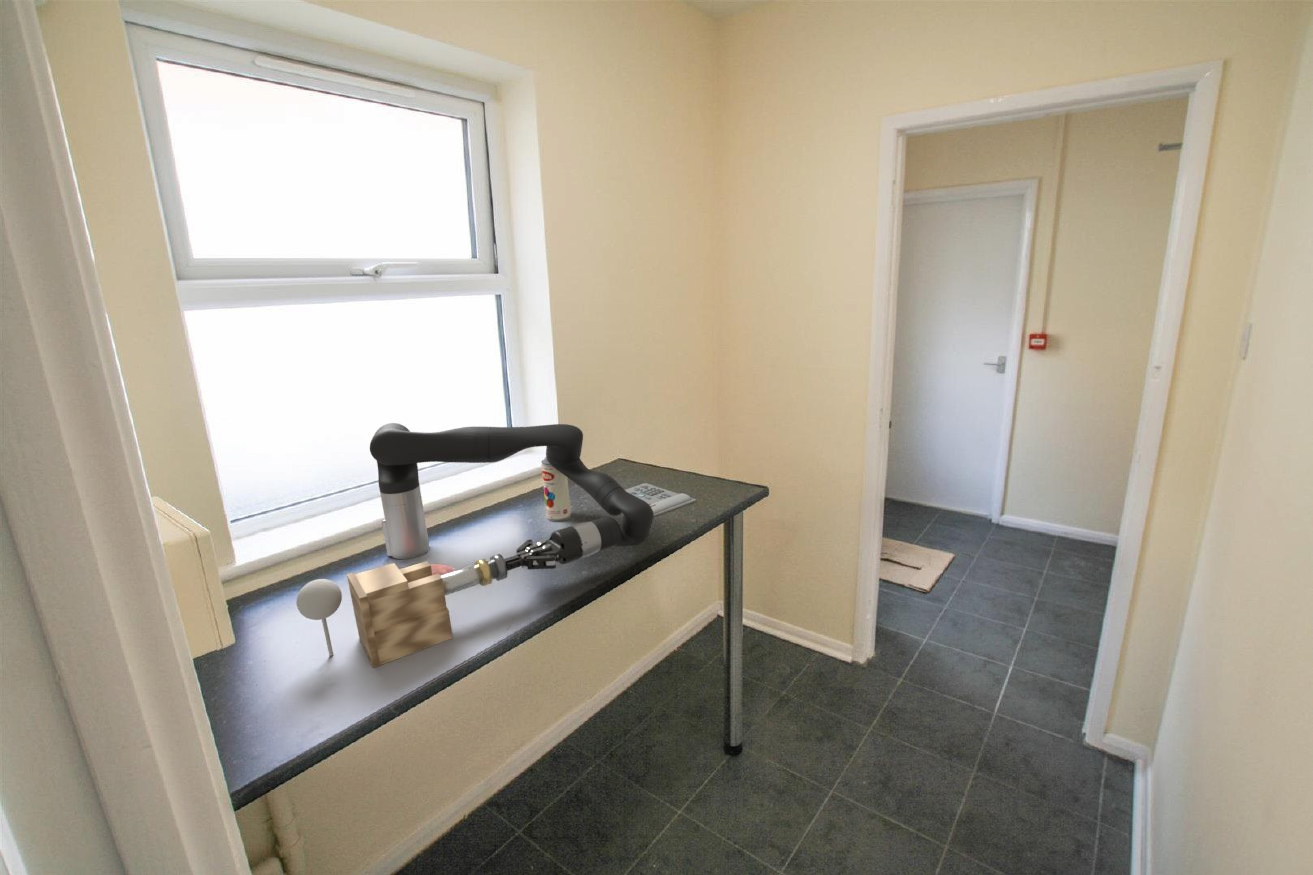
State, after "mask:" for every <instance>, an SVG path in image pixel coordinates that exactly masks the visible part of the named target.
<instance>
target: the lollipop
mask: <svg viewBox="0 0 1313 875" xmlns="http://www.w3.org/2000/svg"><path fill="white" fill-rule="evenodd" d="M342 597H343V596H342V590H341V588H340V587H339V585H338V584H337V583H336V582H334V581H332V580H330V579H328V578H318V579H317V578H316V579H314V580H311V581H309V582H307V583H306V584H304V586H302V588H301V589H300V590H299V592H298V594H297V597H296V607H297V610H298V612H299V613H300V615H302V616H303V617H305V618H306V619H309V620H314V621H319V620H321V623H322V627H323V631H324V636H325V640H326V641H325V642H326V645H327V652H328V656H329V657H332V655H333V656H334V650H333V646H332V641H331V637H330V636H331V635H330V632H329V628H328V622H327V618H329V617H331V616H332V615H333V614H335V613H336V612H337V610H338V609H339V608H340V606H341V603H342V601H343V600H342V599H343V598H342Z"/></svg>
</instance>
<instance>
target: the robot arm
mask: <svg viewBox="0 0 1313 875" xmlns="http://www.w3.org/2000/svg"><path fill="white" fill-rule="evenodd" d="M583 441H584V433H583V431H582V430H581V429H580V428H579V427H578V426H575V425H573V424H566V423H565V424H564V423H556V424H554V423H553V424H545V425H533V426H463V427H458V428H452V429H446V430H442V431H437V432H436V431H435V432H424V431H422V432H419V431H410V430H409V429H408V427H406V426H405V425H403V424H401V423H395V422H390V423H386V424H383V425H382V426H380V427H379V428H378V429H377V430H376V431H375V433H374V434H373V436H372V438H371V440H370V443H369V453H370V455H371V456H372V458H374V460H375V461H376V465H377V472H378V477H377V478H378V488H379V489H378V490H379V492H380V498H381V504H382V509H383V516H384V519H383V520H381V526H382V531H383V536H384V537H383V538H384V544H385V548H386V554H387V557H391V558H393V559H397V560H407V559H412V558H416V557H418V556H421V555H423V554H425V553H427V552H428V551H429V549H430V544H429V543H430V541H429V536H428V530H427V523H426V518H425V517H426V516H425V510H424V506H423V499H422V493H421V486H420V480H419V478H420V477H419V467H418V464H420V463H431V462H432V463H455V464H456V463H465V464H467V463H469V464H471V463H472V464H479V463H480V464H483V463H484V464H486V463H488V464H490V463H497V462H501V461H504V460H505V459H507V458H510V457H511V456H513V455H515V454H517V453H519V452H522V451H524V450H527V449H531V448H536V447H537V448H538V447H546V449H545V457H546V458H547V460H548V462H549V463H550V464H551V465H552V466H553V467H554V468H555V469H557V470H558V471H559V472H561V473H562V474H563V475H565V476H566V477H567V478H568V480H570V481H572V482H573V483H574V484H575V485H577V486H579V487H580V488H582V490H584V491H585V492H586V493H587V494H588V495H590V496H591V497H592V498H593V500H594V501H595V502H596V503H598V504H597V505H599V506H600V507H601V508H602V509H603V510H604V511H605V512H606V513H607V514H608V515H610V516H604V517H601V518H597V519H594V520H591V521H586V522H580V523H576V524H573V525H571V526H567V527H564V528H561V529H558V530H554V531H552V533H551V535H550V538H549V539H546V540H540V541H538V542H537V543H536V542H533V539H527V540H526V541H524V543H522V544H521V545H520V546H519V547H518V548H517V549H516V550H515V551H516V554H515V555H511V556H509V557H505V558H504V560H505V563H506V566H507V572H509V571H512V570H515V569H517V568H527V569H528V570H549V569H550V570H552V569H556V567H557V564H556V563H559V564H560V565H566V564H570V563H572V562H575V561H578V560H581V559H584V558H586V557H591V556H592V555H594V554H595V553H598V552H600V551H604V550H607V549H610V548H612V547H627V546H628V547H631V546H633V547H634V546H638V545H640V544H642V543H643V542H646V540H647V539H648V537H649V534H650V532H651V531H650V530H651V528H652V524H653V521H654V517H655V516H654V513H653V510H652V508H651V507H650V505H649V504H648V503H647V502H645V501H644V500H642V499H640V498H638V497H636V496H634V495H632V494H630V493H628V492H626V491H625V490H626V489H624V487H622V486H621V485H620V483H619V482H618V481H617V480H615V479H614V478H613V476H610V475H608V474H607V473H604V472H600V471H594V470H591V469H589V468H588V467H587V466H586V464H585V463H583V461H582V459H581V454H582V449H583V448H582V447H583ZM621 514H623V515H622V520H621V523H618V521H617V520H616V519H615V518H614V517H615V516H619V515H621ZM612 516H614V517H612Z"/></svg>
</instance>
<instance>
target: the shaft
mask: <svg viewBox="0 0 1313 875" xmlns="http://www.w3.org/2000/svg"><path fill="white" fill-rule="evenodd" d="M504 559H505V558H504V557H503V555H502V554H501V553H498V554H495V555H494V554H493V555H491V556H490V559H489V560H487V559H486V558H481V559H478V560H475V562H474V564H472V565H469V566H466V567H463V568H459V569H457V570H456V569H455V570H454V571H450V572H449V573H447V574H443V575H440V576H441V577H442V580H443V587H444V593H445V596H448V595H451V594H454V593H457V592H460V591H462V590H466V589H468V588H472V587H475V586H478V585H480V586H481V587H484V586H488V585H490V584H492V582H493V580H495V581H497V582H499V581H502V580H505V579H507V578H508V572H509V571H507V566H506V563H505V560H504Z"/></svg>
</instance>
